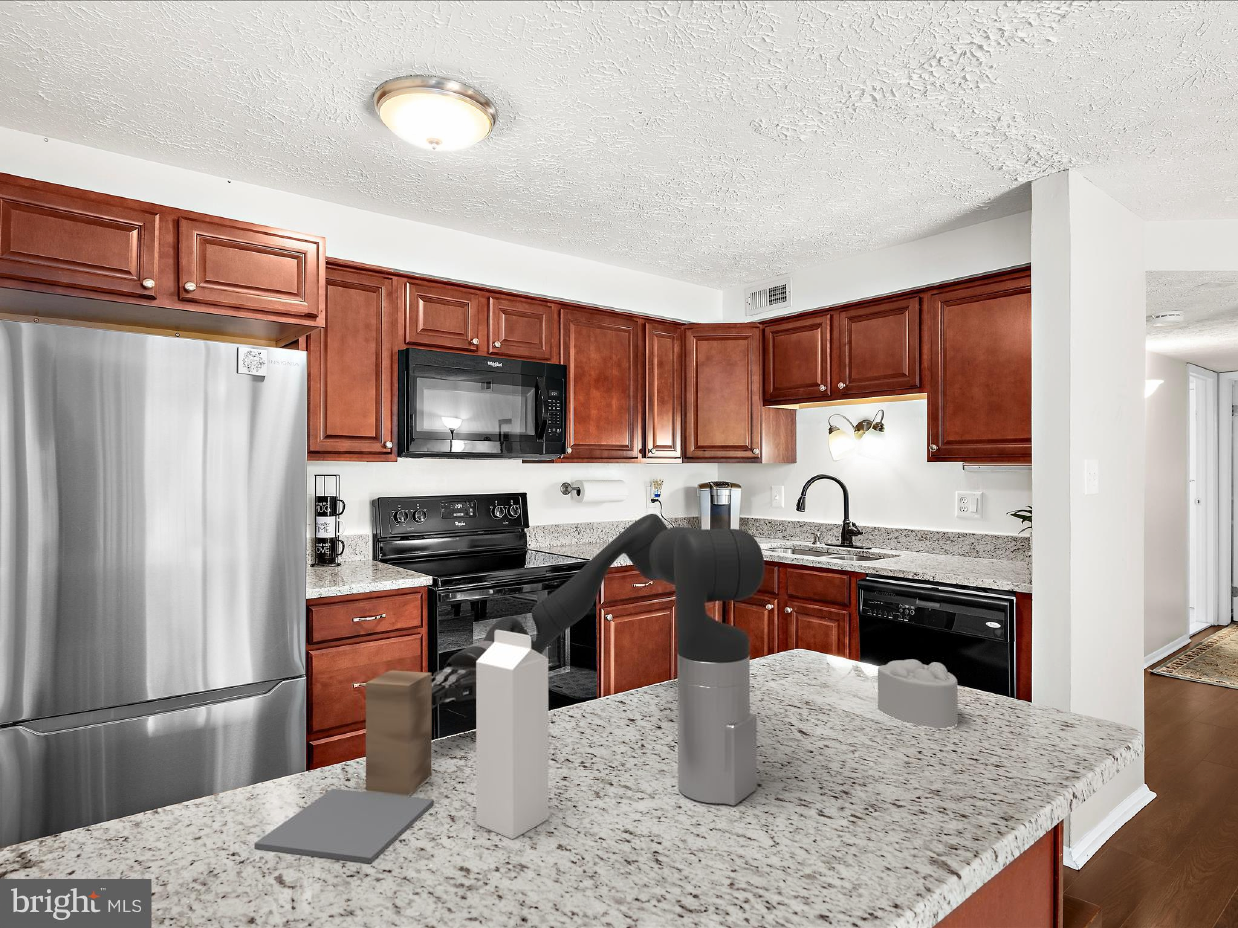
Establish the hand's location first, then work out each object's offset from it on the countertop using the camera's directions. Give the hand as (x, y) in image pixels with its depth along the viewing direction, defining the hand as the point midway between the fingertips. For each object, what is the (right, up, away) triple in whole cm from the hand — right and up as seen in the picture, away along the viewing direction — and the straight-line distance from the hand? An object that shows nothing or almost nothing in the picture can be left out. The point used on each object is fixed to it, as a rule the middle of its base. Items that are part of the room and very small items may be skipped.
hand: (426, 701), depth 103 cm
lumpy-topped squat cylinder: (+77, -9, +19) cm, 80 cm away
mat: (-4, -8, -18) cm, 20 cm away
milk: (+15, -9, -18) cm, 24 cm away
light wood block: (-2, -9, -8) cm, 11 cm away
